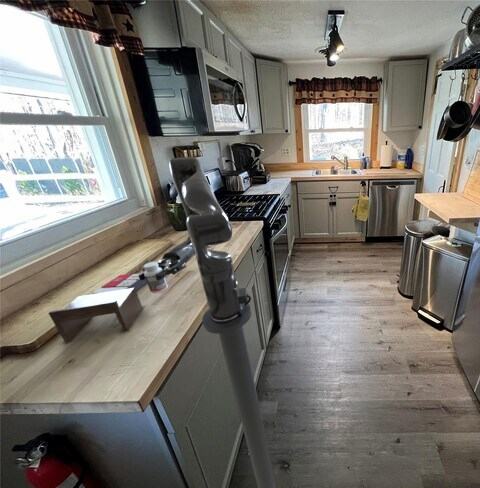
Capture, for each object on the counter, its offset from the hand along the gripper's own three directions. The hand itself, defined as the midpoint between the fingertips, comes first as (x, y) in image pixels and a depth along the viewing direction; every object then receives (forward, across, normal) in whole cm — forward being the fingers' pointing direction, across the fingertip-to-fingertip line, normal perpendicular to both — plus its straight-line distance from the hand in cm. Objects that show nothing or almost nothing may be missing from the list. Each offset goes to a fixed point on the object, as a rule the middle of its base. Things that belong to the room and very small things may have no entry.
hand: (148, 278), depth 85 cm
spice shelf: (+10, -11, +11) cm, 18 cm away
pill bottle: (-3, 0, +6) cm, 7 cm away
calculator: (-8, -20, +11) cm, 24 cm away
